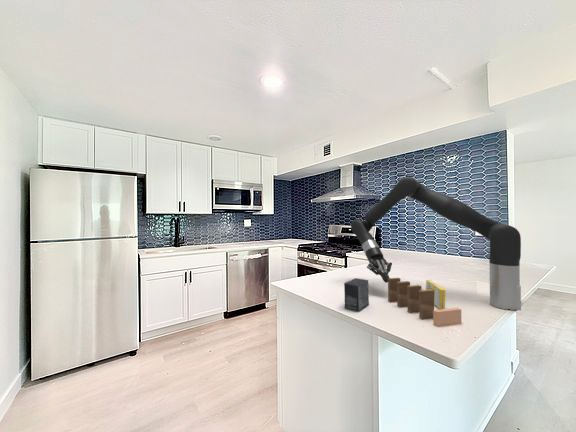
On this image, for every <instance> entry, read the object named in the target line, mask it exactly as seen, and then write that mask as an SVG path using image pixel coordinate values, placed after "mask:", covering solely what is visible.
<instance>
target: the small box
mask: <svg viewBox="0 0 576 432" xmlns="http://www.w3.org/2000/svg"><path fill="white" fill-rule="evenodd" d="M343 284H344V287H343V288H344V290H343V291H344V309H345V310H350V311H353V312H357V313H360V312H361V311H363V310H364V309H365V308H366V307H368V306H369V305H370V299H369V296H370V295H369V279H366V278H365V279H364V278H357V277H356V278H355V277H354V278H353V279H351V280H349V281H346V282H344V283H343Z"/></svg>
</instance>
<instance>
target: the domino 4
mask: <svg viewBox="0 0 576 432" xmlns="http://www.w3.org/2000/svg"><path fill="white" fill-rule="evenodd" d="M433 310H435V305H434V290H431V289H429V290H426V289H421V290H419V312H418V314H419V315H418V316H419V319H421V320H430V319H432V320H433Z"/></svg>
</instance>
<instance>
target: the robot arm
mask: <svg viewBox="0 0 576 432" xmlns="http://www.w3.org/2000/svg"><path fill="white" fill-rule="evenodd" d="M407 197H408V198H411V199H414V200H415V201H418V202H419V203H421V204H424V205H425V206H426V207H428V208H429V209H430V210H432V211H433V212H434V213H436V214H437V215H440V216H441V217H442V218H445V219H446V220H449V221H450V222H453V223H455V224H458V225H460V226H463V227H464V228H468V229H470V230H472V231H474V232H476V233H478V234H480V235H481V236H483V238H486V239H487V240H489V265H488V266H489V305H491V306H493V307H496V308H498V309H503V310H508V309H510V310H509V311H522V297H521V296H522V286H521V283H520V281H521V280H520V277H521V275H520V273H521V272H520V271H521V270H520V269H521V268H520V265H521V264H520V263H521V256H522V255H521V254H522V253H521V251H522V247H521V246H522V237H521V233H520V231H519V230H518V229H517V228H516V227H514V226H512V225H509V224H504V223H501V222H499V221H497V220H494V219H493V218H492V219H491V218H489V217H487V216H485V215H483V214H481V213H480V212H478V210H475V209H474V208H473V207H471V206H469V205H467V204H466V203H464V202H462V201H460V200H458V199H456V198H454V197H452V196H450V195H447V194H445V193H441V192H437V191H435V190H432V189H431V188H429V187H427V186H425V185H424V184H422V183H421V182H419V181H418V180H416V179H415V178H414V177H412V176H406V177H405V176H404V177H402V178H401V179H400V180H399V181H398V182H397V183H396V184H395V185H394V187H393V188H392V189H391V190H390V191H389V193H387V194H386V195H385V197H383V198H382V199H381V200H380V201H379V202H378V203H376V204H375V205H374V206H373V207H371V209H369V210H368V211H367V212H366V213H365V215H364V218H365V220H364V221H363V220H362V219H359V218H356V219H353V220H352V221H351V223H350V228H351V231H352V232H353V234H354V235H355V236H356V238H357V240H358V241H359V243H360V246H361V248H362V250H363V253H364V255H365V257H366V259H367V261H368V262H369V263H368V264H367V266H366V268H367V269H368V270H369V271H371V272H372V273H374V274H375V275H376V276H378V275H379V276H380V277H381V279H382V280H383V282H384V283H387V284H388V278H391V277H390V276H389V275H390V274H389V273H390V272H391V269H392V265H393V262H391V261H389V262H388V261H387V260H386V259H385V257H384V254H383V252H382V250H381V248H380V246H379V244H378V243H377V241H376V240H375V238H374V237H373V235H372V233H370V231H371V230H372V229H373V227H374V226H375V224H376V223H377V222H379V220H381V219H382V218H384V217H385V216H386V215H387V213H388V212H390V210H392V209H393V208H394V206H395V205H396V204H398V202H400V201H401V200H404V199H405V198H407Z"/></svg>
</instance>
